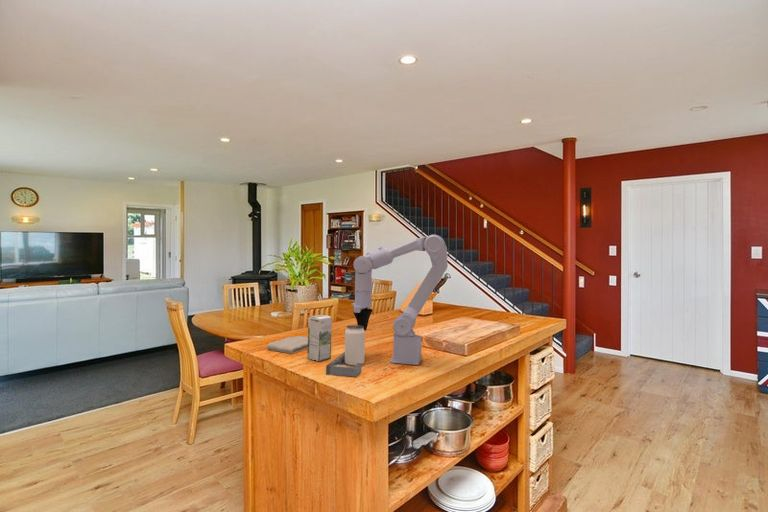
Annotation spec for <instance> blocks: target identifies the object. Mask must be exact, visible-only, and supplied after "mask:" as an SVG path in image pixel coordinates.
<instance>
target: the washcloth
mask: <svg viewBox="0 0 768 512" xmlns="http://www.w3.org/2000/svg"><path fill="white" fill-rule="evenodd" d="M307 348H308V336H301V335H296V336H287V337H286V338H283V339H279V340H276V341H273V342H270V343H268V344H267V346H266V349H267V350H269V351H274V352H278V353H282V352H283V353H285V354H288V353H289V354H288V355H293V354H296V353H299V352H302V351H305V350H308V349H307ZM304 349H305V350H304ZM301 350H302V351H301ZM298 351H299V352H298ZM295 352H296V353H295Z"/></svg>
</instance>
